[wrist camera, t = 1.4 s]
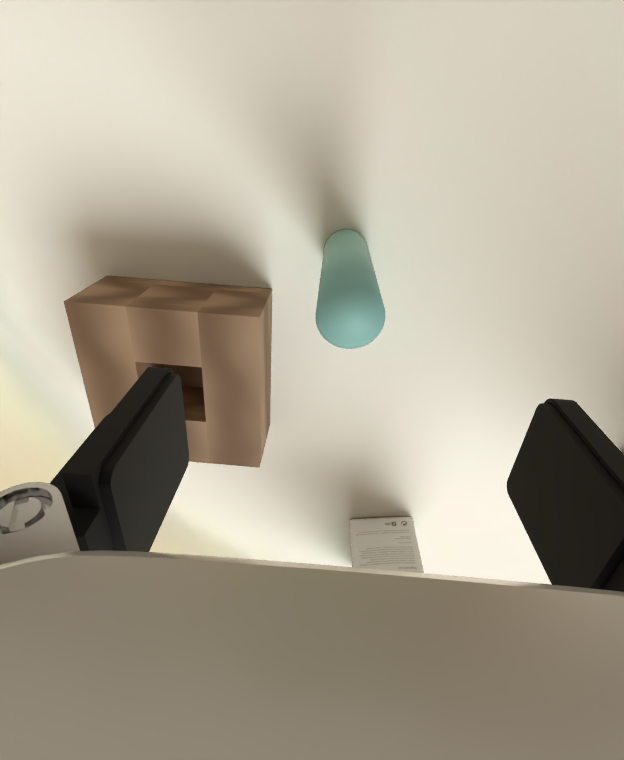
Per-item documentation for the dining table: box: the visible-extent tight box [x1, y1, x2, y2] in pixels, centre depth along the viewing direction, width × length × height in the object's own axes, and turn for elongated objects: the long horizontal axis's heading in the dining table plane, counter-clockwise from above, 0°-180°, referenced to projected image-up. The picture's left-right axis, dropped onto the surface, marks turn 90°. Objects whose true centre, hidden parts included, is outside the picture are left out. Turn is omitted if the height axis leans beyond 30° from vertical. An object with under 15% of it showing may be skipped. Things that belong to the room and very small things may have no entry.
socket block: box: [64, 276, 272, 467], centre depth 31 cm, size 12×12×6 cm
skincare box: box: [350, 517, 424, 573], centre depth 36 cm, size 8×7×16 cm
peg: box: [316, 229, 385, 349], centre depth 23 cm, size 3×3×12 cm
